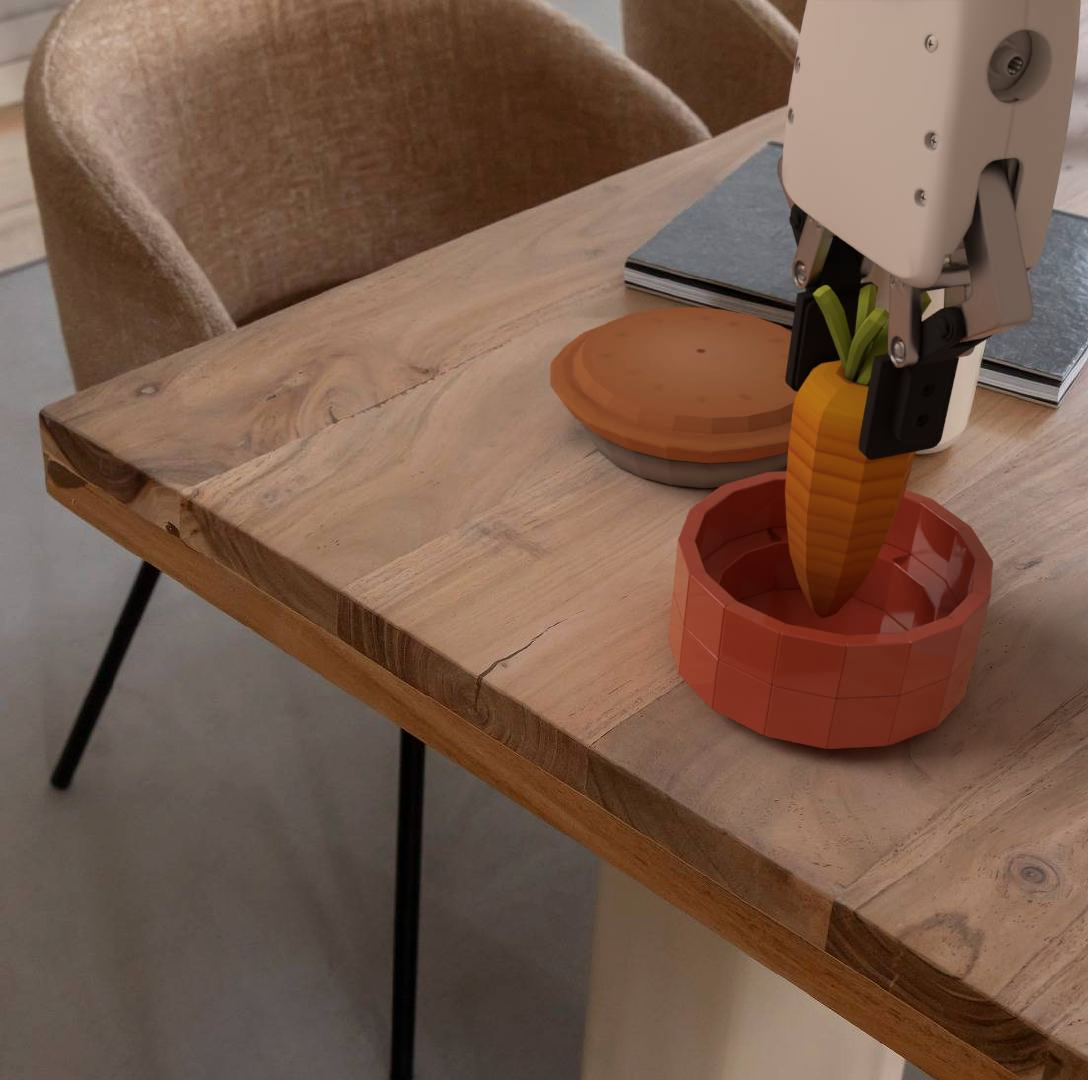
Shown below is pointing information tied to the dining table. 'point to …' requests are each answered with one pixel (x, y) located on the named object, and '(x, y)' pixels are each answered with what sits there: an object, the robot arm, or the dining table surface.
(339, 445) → the dining table surface
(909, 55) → the robot arm
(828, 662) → the bowl
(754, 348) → the pie
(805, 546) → the carrot
